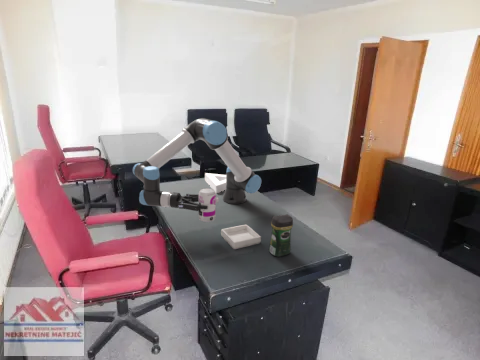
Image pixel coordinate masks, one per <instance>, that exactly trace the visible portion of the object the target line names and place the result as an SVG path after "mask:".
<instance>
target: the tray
mask: <svg viewBox="0 0 480 360" xmlns="http://www.w3.org/2000/svg"><path fill="white" fill-rule="evenodd" d="M220 236H221V237H222V239H224V241H225V242H226V243H227V244H228V245H230V247H231V248H232V249H233V250H237V249H242V248H245V247H250V246H255V245H258V244H261V242H262V236H261V235H259V233H258V232H256V231H255V230H254V229H253V228H252V227H250V226H249V225H248V224H242V225H237V226H230V227H226V228H221V230H220Z"/></svg>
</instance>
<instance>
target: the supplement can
mask: <svg viewBox="0 0 480 360" xmlns="http://www.w3.org/2000/svg"><path fill="white" fill-rule="evenodd" d="M198 194H199V202H198V204H201V203H203V204H214V205H215V210H204V209H201V211H199V210H198V219H199V221H201V222H203V223H210V222H213V221H214V220H216V207H217V205H216V204H217V203H216V198H217V197H216V196H217V193H215V191H214V189H212V188H211V187H209V188H207V187H204V188H201V189H200V190H199V192H198Z"/></svg>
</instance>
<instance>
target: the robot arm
mask: <svg viewBox="0 0 480 360" xmlns="http://www.w3.org/2000/svg"><path fill="white" fill-rule="evenodd" d="M227 131H228V130H227V128H226V126H225V125H224V124H223V123H221V122H219V121H218V120H212V119H209V118H205V117H201V118H198V119H195V120H194V121H192V122H190V123H189V124H187V125H186V126H184V127H183V128H182V130H181V132H180V133H179V134H177V135H176V136H175V137H174V138H172V139H171V140H170V141H168V142H167V143H166V144H165V145H164V146H162V147H161V148H160V149H159V150H156V152H155V153H153V154H152V155H150V156H149V157H148V158H147V159H145V160H144V161H143V162H139V163H135V164H134V165H133V167H132V173H133V175H134V176H135V177H136V178H137V179H139V180H140V181H141V182H142V183H143V189H142V190H141V191H140V192H139V197H138V200H139V204H141V205H143V206H149V207H152V206H153V207H161V208H163V207H164V208H173V209H174V208H175V209H181V210H190V211H193V212H194V211H195V212H199V211H201V209H204V210H215V211H216V209H215V205H214V204H203V203H201V204H199V193H198V194H195V193H193V194H191V193H186V194H185V195H183V196H182V195H181V193H180V192H174V191H173V192H172V191H161V185H160V184H161V183H160V182H161V181H160V180H161V179H160V176H161V174H160V168H161V167H163V166H164V165H166V164H167V163H168V162H169V161H170V160H171V159H173V158H174V157H175V156H176V155H178V154H179V153H181V152H182V151H183V150H184V149H185V148H187V147H188V146H189V145H190V144H194V143H196V142H197V141H199V140H201V141H203V142H205V143H206V145H207V146H208V147H209V149H210V150H214V151H215V152H216V154H217V155H218V156H219V157H220V158H221V160H222V161H223V162H224V164H225V165H226V166H227V167H226V173H225V175H226V190H225V191H223V192H224V193H223V196H222V200H223V202H225V203H228V204H233V205H239V204H244V203H245V202H246V201H247V195H246V193H249V194H255V193H257V192H258V190H260V187H261V186H262V185H261V184H262V178H261V176H259V175H258V174H255V172H254V170H253V169H252V168H251V167H249V166H246V164H245V163H244V162H243V160H242V159H241V157H240V156H239V154H238V153H237V152H236V150H235V149H234V147H233V146H232V145H231V143H230V142H229V140H228V139H229V136H228V133H227ZM219 201H220V200H219V197H216V204H219Z"/></svg>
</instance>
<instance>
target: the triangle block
mask: <svg viewBox="0 0 480 360" xmlns="http://www.w3.org/2000/svg"><path fill="white" fill-rule="evenodd" d="M204 181H205V182H206V184H208V186H209V185H210V186H209V188H211V189H214V191H215V193H216V194H219V193H222V192H225V191H224V190H226V174H218V173H210V172H209V173H208V172H204ZM221 191H222V192H221Z"/></svg>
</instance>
